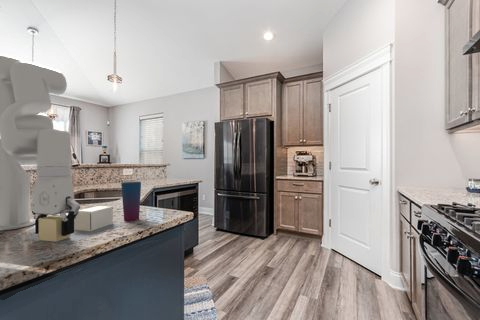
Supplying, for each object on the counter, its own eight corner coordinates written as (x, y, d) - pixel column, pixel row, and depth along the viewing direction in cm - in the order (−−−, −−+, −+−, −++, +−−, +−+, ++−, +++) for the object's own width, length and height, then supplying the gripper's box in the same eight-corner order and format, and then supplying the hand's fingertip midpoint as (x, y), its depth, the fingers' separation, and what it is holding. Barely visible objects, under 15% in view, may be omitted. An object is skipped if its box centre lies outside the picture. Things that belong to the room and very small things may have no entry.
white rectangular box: (74, 229, 73) (74, 211, 73) (98, 222, 81) (98, 205, 82) (90, 231, 71) (90, 211, 71) (113, 223, 80) (112, 206, 80)
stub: (38, 240, 63) (38, 218, 63) (53, 235, 67) (53, 214, 67) (56, 241, 61) (56, 219, 61) (70, 236, 65) (70, 215, 65)
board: (25, 242, 64) (25, 239, 64) (88, 223, 83) (88, 221, 83) (69, 247, 60) (69, 244, 60) (125, 226, 79) (125, 223, 79)
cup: (133, 224, 81) (133, 183, 81) (117, 224, 82) (116, 182, 82) (145, 219, 88) (144, 181, 88) (129, 219, 89) (129, 181, 89)
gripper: (16, 173, 63) (17, 235, 62) (64, 173, 58) (65, 240, 58) (46, 172, 70) (46, 227, 70) (90, 172, 66) (91, 231, 65)
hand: (54, 233), depth 64 cm, fingers open, 9 cm apart
